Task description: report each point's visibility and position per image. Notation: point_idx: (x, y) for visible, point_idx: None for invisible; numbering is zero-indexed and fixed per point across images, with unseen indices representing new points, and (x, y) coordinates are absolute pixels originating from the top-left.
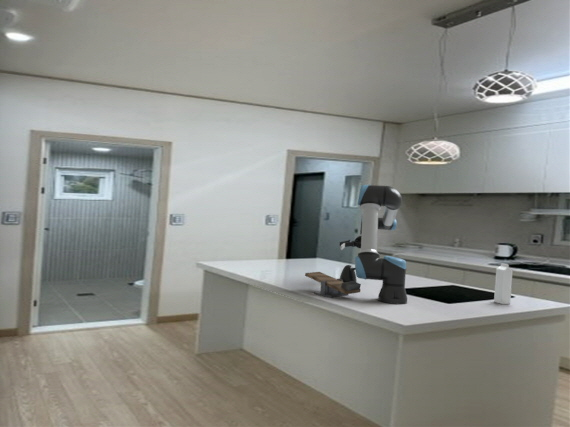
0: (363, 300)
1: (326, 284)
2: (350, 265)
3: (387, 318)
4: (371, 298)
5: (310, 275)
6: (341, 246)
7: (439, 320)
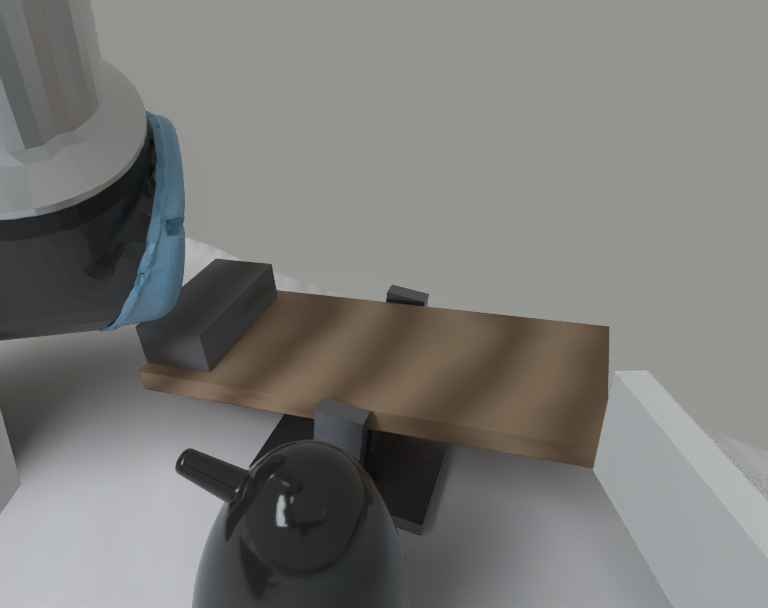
0: (124, 387)
1: None
2: (281, 464)
3: None
4: (49, 474)
5: (550, 321)
6: (618, 386)
7: None
